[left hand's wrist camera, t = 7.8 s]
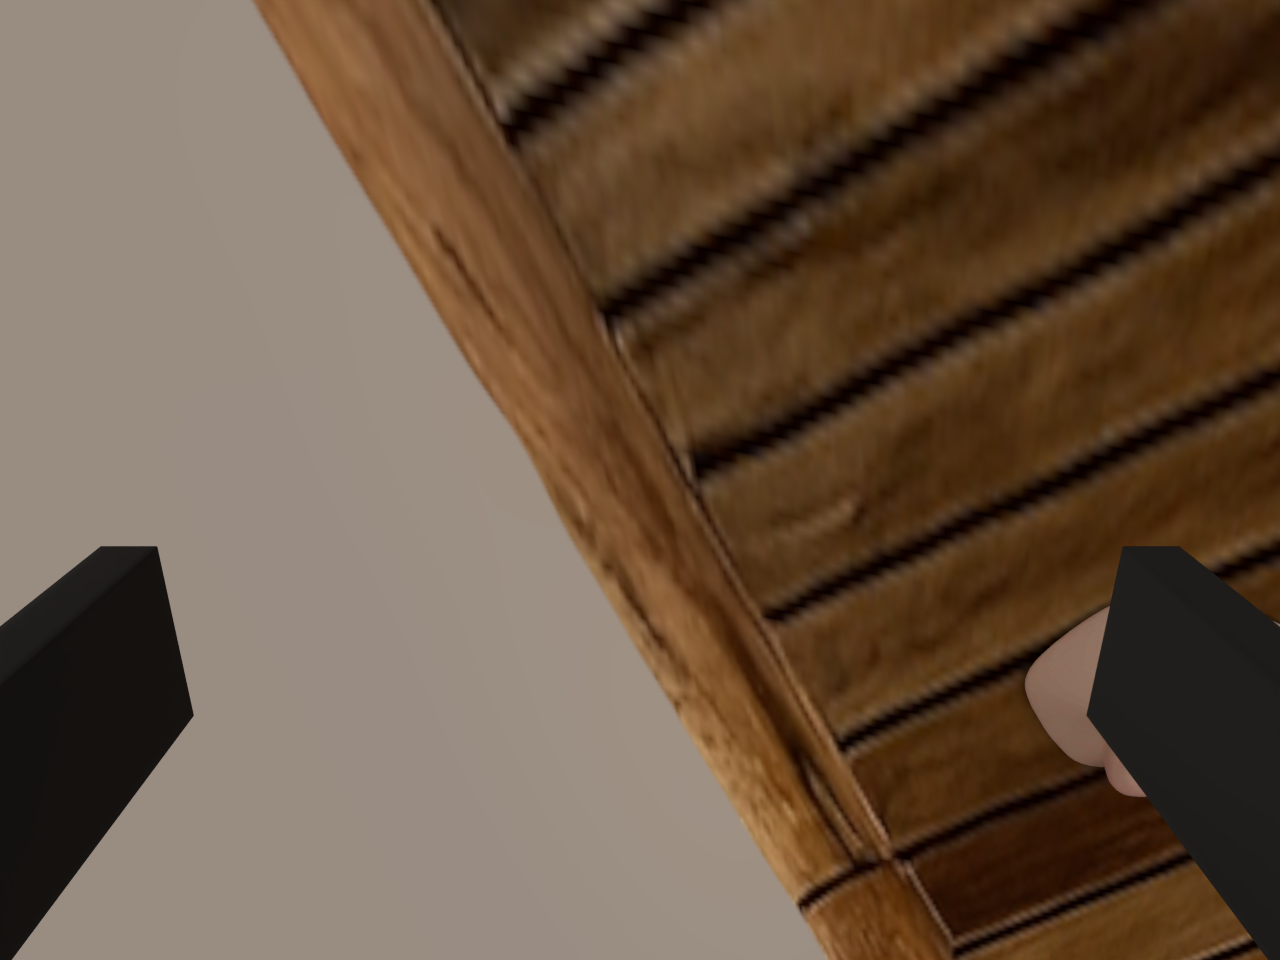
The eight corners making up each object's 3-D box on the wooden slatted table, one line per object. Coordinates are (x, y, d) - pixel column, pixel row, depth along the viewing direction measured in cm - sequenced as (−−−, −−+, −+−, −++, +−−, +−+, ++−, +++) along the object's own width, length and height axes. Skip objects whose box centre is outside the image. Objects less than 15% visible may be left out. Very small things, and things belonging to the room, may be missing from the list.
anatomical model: (1017, 763, 44) (1183, 578, 40) (988, 713, 47) (1137, 539, 44) (1225, 871, 46) (1399, 705, 42) (1181, 815, 50) (1339, 658, 46)
